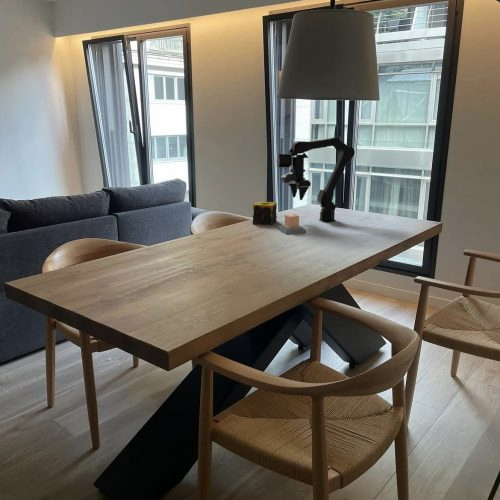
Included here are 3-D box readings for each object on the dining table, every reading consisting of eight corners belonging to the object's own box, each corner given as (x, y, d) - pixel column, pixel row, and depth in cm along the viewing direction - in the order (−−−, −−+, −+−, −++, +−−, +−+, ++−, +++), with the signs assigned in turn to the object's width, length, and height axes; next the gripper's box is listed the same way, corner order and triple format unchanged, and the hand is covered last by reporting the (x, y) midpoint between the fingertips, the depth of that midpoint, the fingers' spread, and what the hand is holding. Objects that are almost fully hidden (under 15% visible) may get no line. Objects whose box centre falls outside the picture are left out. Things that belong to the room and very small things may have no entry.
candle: (252, 224, 246) (252, 204, 243) (257, 220, 255) (257, 201, 252) (272, 225, 243) (272, 205, 240) (276, 221, 252) (277, 202, 249)
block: (294, 224, 232) (294, 214, 231) (298, 226, 228) (299, 215, 227) (284, 225, 231) (285, 214, 230) (288, 227, 226) (289, 216, 225)
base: (297, 228, 236) (297, 223, 235) (306, 232, 227) (306, 227, 226) (278, 229, 233) (278, 224, 233) (285, 234, 224) (285, 228, 223)
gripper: (276, 166, 249) (276, 196, 253) (289, 169, 231) (289, 202, 235) (296, 165, 252) (296, 195, 256) (311, 168, 234) (310, 201, 239)
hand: (297, 198), depth 246 cm, fingers open, 9 cm apart
